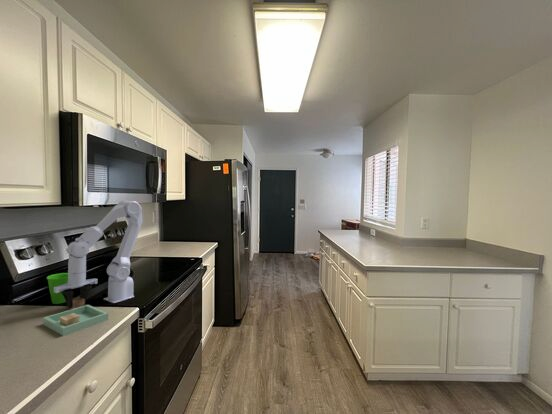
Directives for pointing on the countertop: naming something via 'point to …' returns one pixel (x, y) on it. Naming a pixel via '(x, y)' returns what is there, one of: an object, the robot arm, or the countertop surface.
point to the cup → (54, 282)
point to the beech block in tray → (69, 319)
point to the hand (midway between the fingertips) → (76, 305)
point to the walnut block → (77, 302)
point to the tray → (86, 319)
